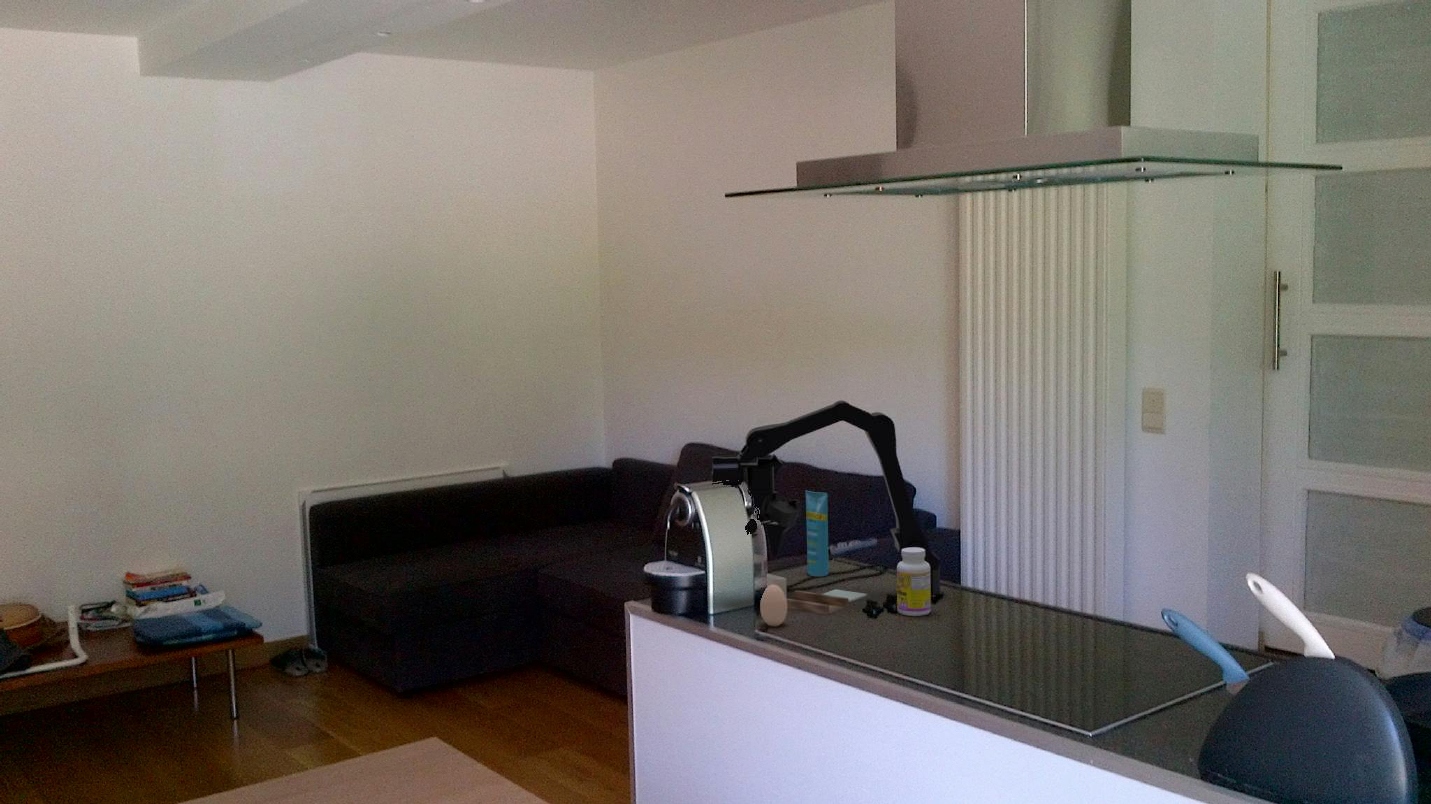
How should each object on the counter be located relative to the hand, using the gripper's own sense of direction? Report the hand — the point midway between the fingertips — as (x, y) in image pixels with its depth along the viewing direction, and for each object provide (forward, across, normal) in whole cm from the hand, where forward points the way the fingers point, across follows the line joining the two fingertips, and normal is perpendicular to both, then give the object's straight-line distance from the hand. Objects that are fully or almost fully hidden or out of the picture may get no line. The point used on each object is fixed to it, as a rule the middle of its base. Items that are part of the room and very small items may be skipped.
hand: (762, 561), depth 266 cm
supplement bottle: (+8, +8, -32) cm, 34 cm away
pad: (+8, +10, -13) cm, 18 cm away
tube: (+8, +26, +4) cm, 28 cm away
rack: (+8, 0, -12) cm, 15 cm away
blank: (+8, 0, -2) cm, 9 cm away
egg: (+8, -16, -15) cm, 23 cm away
